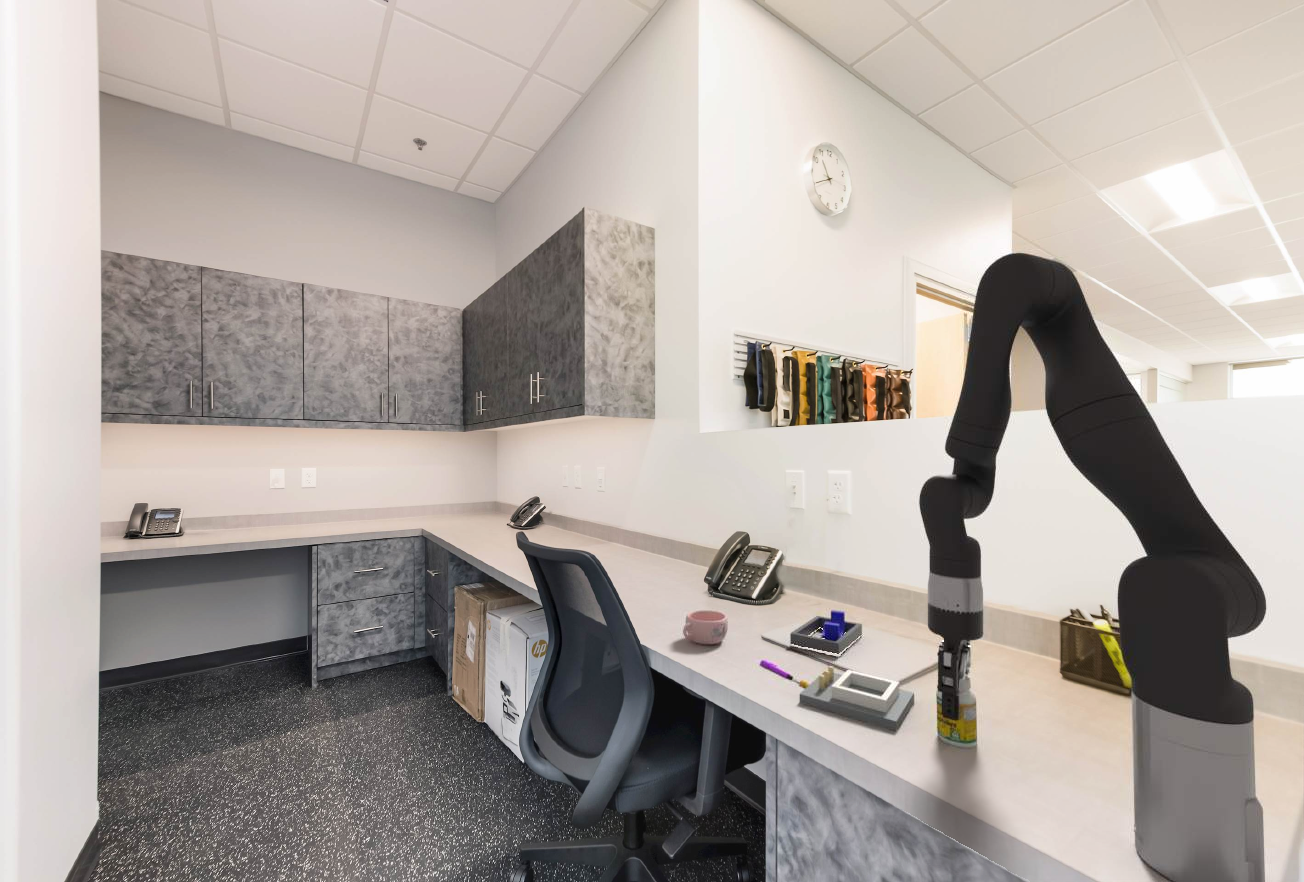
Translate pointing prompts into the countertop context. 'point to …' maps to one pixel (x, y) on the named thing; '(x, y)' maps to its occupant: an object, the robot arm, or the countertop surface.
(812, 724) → the countertop surface
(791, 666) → the countertop surface
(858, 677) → the board
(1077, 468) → the robot arm
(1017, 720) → the countertop surface
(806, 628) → the tray
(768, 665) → the purple handled brush
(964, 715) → the supplement bottle
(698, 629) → the mug
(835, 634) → the cable clip
